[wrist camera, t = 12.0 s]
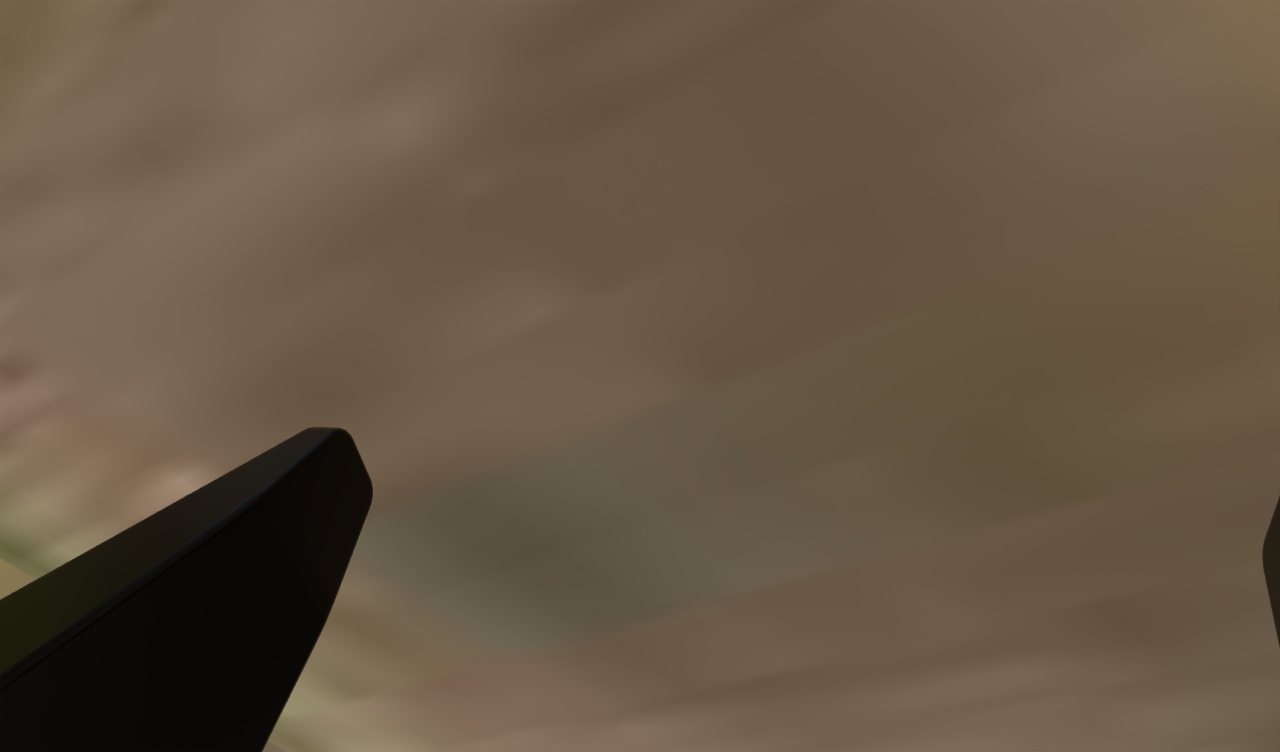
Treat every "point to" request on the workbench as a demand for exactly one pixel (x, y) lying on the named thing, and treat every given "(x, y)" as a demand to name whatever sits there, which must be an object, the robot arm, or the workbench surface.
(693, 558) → the workbench surface
